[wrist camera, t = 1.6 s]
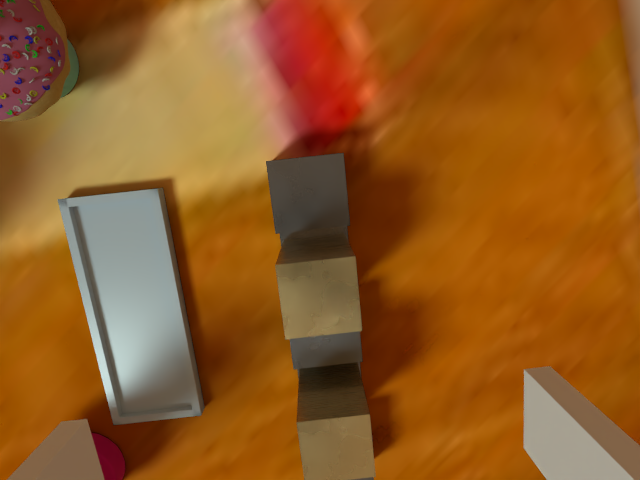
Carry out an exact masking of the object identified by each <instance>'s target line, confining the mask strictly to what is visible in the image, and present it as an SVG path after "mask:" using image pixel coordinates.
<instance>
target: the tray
mask: <svg viewBox="0 0 640 480" xmlns="http://www.w3.org/2000/svg"><path fill="white" fill-rule="evenodd" d="M58 203H59V207H60V211H61V215H62V219H63V223H64V227H65V231H66V235H67V239H68V243H69V247H70V251H71V255H72V259H73V264H74V268H75V272H76V276H77V280H78V284H79V288H80V292H81V296H82V300H83V304H84V308H85V312H86V316H87V320H88V324H89V328H90V332H91V336H92V340H93V344H94V348H95V352H96V356H97V360H98V364H99V368H100V373H101V377H102V381H103V385H104V389H105V393H106V397H107V401H108V405H109V409H110V413H111V417H112V421H113V425H120V424H129V423H138V422H147V421H156V420H165V419H173V418H182V417H191V416H200V415H202V413H203V410H204V408H205V406H204V401H203V396H202V390H201V385H200V380H199V375H198V369H197V364H196V359H195V354H194V348H193V343H192V338H191V333H190V327H189V322H188V317H187V311H186V306H185V301H184V296H183V290H182V285H181V280H180V275H179V269H178V264H177V259H176V254H175V248H174V243H173V238H172V233H171V227H170V222H169V217H168V211H167V206H166V201H165V196H164V190H163V188H156V189H147V190H137V191H128V192H119V193H110V194H101V195H92V196H83V197H74V198H65V199H58Z"/></svg>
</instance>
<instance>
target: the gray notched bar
mask: <svg viewBox="0 0 640 480" xmlns="http://www.w3.org/2000/svg"><path fill="white" fill-rule="evenodd" d="M266 165H267V172H268V180H269V187H270V195H271V202H272V210H273V217H274V225H275V232H276V234H277V233H280V239H281V247H282V244H283V242H284V240H290V239H299V238H308V237H317V236H326V235H335V234H345V236H346V238H347V240H348V231H347V226H350V218H349V207H348V197H347V186H346V175H345V164H344V153H338V154H329V155H319V156H310V157H301V158H292V159H283V160H274V161H266ZM348 242H349V241H348ZM290 345H291V352H292V360H293V367H294V369H298V377H299V369H302V368H311V367H320V366H329V365H338V364H347V363H356V362H358V366H359V371H360V375H361V369H360V362H363V359H362V348H361V337H360V331H357V332H348V333H339V334H330V335H321V336H312V337H303V338H294V339H290ZM351 480H374V478H373V477H369V478H360V479H351Z"/></svg>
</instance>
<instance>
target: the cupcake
mask: <svg viewBox="0 0 640 480" xmlns="http://www.w3.org/2000/svg"><path fill="white" fill-rule="evenodd" d="M78 74H79V62H78V58H77V54H76V52H75V50H74V48H73V46H72V44H71V43H70V41H69V40H68V39H67V34H66V28H65V25H64V23H63V21H62V20H61V18H60V16H59V15H58V13H57V12H56V10H55V8H54V6H53V5H52V3H51V1H50V0H0V121H6V122H11V121H21V120H27V119H31V118H34V117H36V116H39V115H41V114H42V113H43V112H45V111H46V110H47V109H48V108H49V107H50V106H52V105H53V104H55V103H56V102H57V101H58V100H59V99H60V98H62V97H64V96H65V95H67V94H68V93H69V92H70V91H71V90H72V89H73V87H74V85H75V84H76V81H77V78H78Z"/></svg>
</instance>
